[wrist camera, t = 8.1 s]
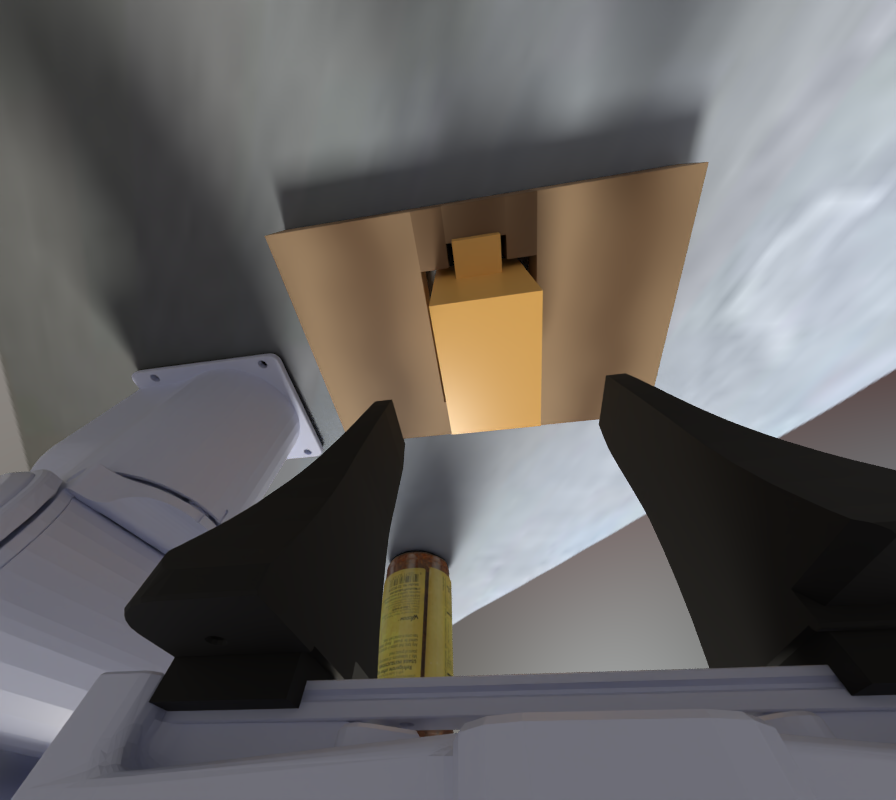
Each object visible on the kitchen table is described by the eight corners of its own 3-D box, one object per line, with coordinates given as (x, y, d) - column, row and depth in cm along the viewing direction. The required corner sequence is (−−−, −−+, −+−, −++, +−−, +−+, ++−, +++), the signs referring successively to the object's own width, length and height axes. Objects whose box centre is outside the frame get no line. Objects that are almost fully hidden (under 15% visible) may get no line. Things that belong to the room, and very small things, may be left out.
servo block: (456, 391, 21) (456, 458, 16) (431, 236, 16) (420, 261, 11) (519, 384, 20) (540, 450, 15) (514, 222, 15) (543, 243, 10)
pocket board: (357, 424, 22) (350, 443, 21) (284, 230, 16) (264, 236, 14) (631, 395, 21) (647, 414, 19) (678, 164, 14) (708, 162, 12)
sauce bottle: (381, 574, 33) (309, 962, 17) (397, 541, 30) (327, 983, 13) (442, 587, 34) (430, 960, 18) (464, 556, 31) (474, 980, 15)
